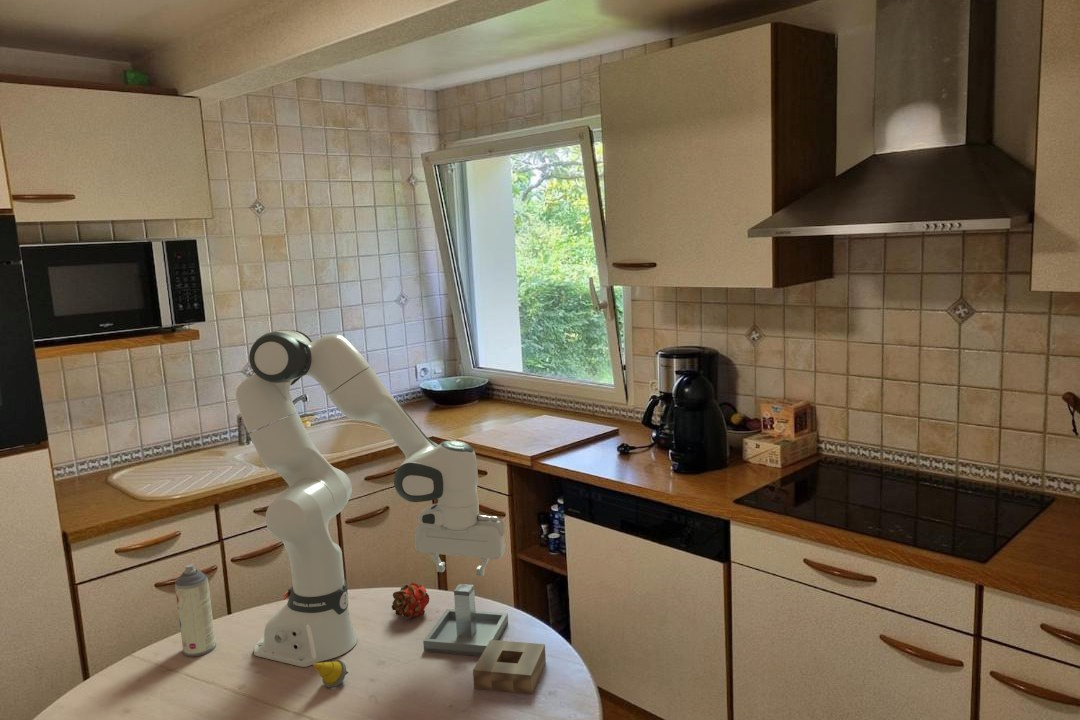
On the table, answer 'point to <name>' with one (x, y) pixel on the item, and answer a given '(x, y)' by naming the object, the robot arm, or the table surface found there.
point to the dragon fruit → (410, 600)
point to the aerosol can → (195, 612)
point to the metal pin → (465, 610)
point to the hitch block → (509, 666)
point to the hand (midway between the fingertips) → (460, 572)
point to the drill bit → (331, 672)
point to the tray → (448, 642)
